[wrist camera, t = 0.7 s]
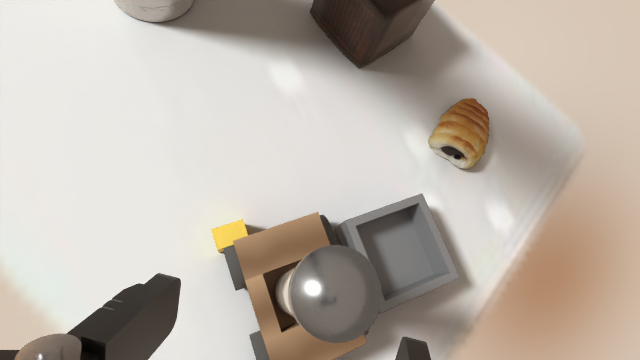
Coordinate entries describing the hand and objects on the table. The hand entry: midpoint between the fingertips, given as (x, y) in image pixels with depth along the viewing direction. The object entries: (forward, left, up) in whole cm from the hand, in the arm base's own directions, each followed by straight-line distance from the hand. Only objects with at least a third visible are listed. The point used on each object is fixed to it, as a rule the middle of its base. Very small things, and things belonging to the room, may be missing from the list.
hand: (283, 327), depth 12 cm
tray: (0, +14, -23) cm, 27 cm away
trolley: (-1, +3, -23) cm, 23 cm away
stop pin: (0, +3, -20) cm, 20 cm away
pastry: (-10, +29, -23) cm, 39 cm away
